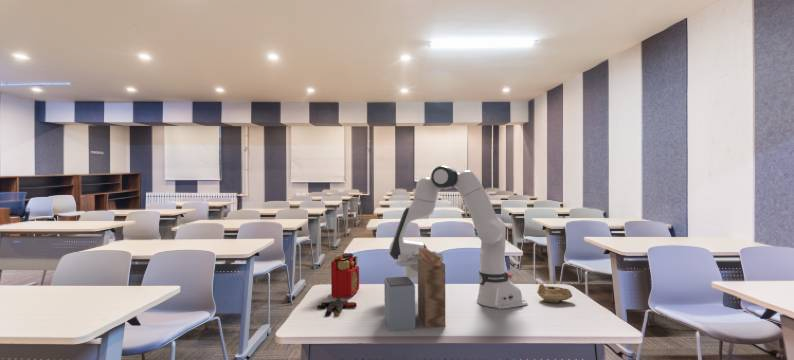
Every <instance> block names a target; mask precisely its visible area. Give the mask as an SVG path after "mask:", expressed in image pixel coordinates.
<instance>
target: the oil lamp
mask: <svg viewBox="0 0 794 360" xmlns="http://www.w3.org/2000/svg"><path fill="white" fill-rule="evenodd" d="M536 293H537V294H538V296H539V297H540V298H542V299H543V300H544V301H545V302H547V303H553V304H556V303H557V304H558V303H560V302H561V301H562V302H563V301H566V300H569V299H571V298H572V297H573V293H572V291H571V290H570V289H569V288H563V287H559V286H552V285H551V286H549V285H548V286H547V285H544V284H543V283H540V284H539V286H538V289H537V291H536Z"/></svg>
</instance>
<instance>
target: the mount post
mask: <svg viewBox="0 0 794 360" xmlns="http://www.w3.org/2000/svg"><path fill="white" fill-rule="evenodd" d="M417 318H418V319H419V321H420V322H421V324H422V325H423V327H424V328H425V329H430V328H441V327H447V326H446V264H445V263H444V262H441V261H440V266H432V265H431V264H430V263H428V262H427V261H426V260H425V259H418V279H417Z"/></svg>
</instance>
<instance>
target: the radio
mask: <svg viewBox="0 0 794 360" xmlns="http://www.w3.org/2000/svg"><path fill="white" fill-rule="evenodd" d="M358 261H359V259H358V256H354V253H343V254H342V255H341V254H337V255H335V257H334V260H332V261H331V263H330V265H331V266H330V269H331V270H330V274H331V279H330V280H331V281H330V282H331V287H330V289H331V290H330V291H331V294H330V295H331V298H332V297H333V298H334V299H335V298H337V299H338V298H344V299H345V298H346V299H347V298H349V297H353V296H354V295H355V294H356V293H357V292H358V291H359V290H360V266H359V265H357V264H358Z"/></svg>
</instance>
